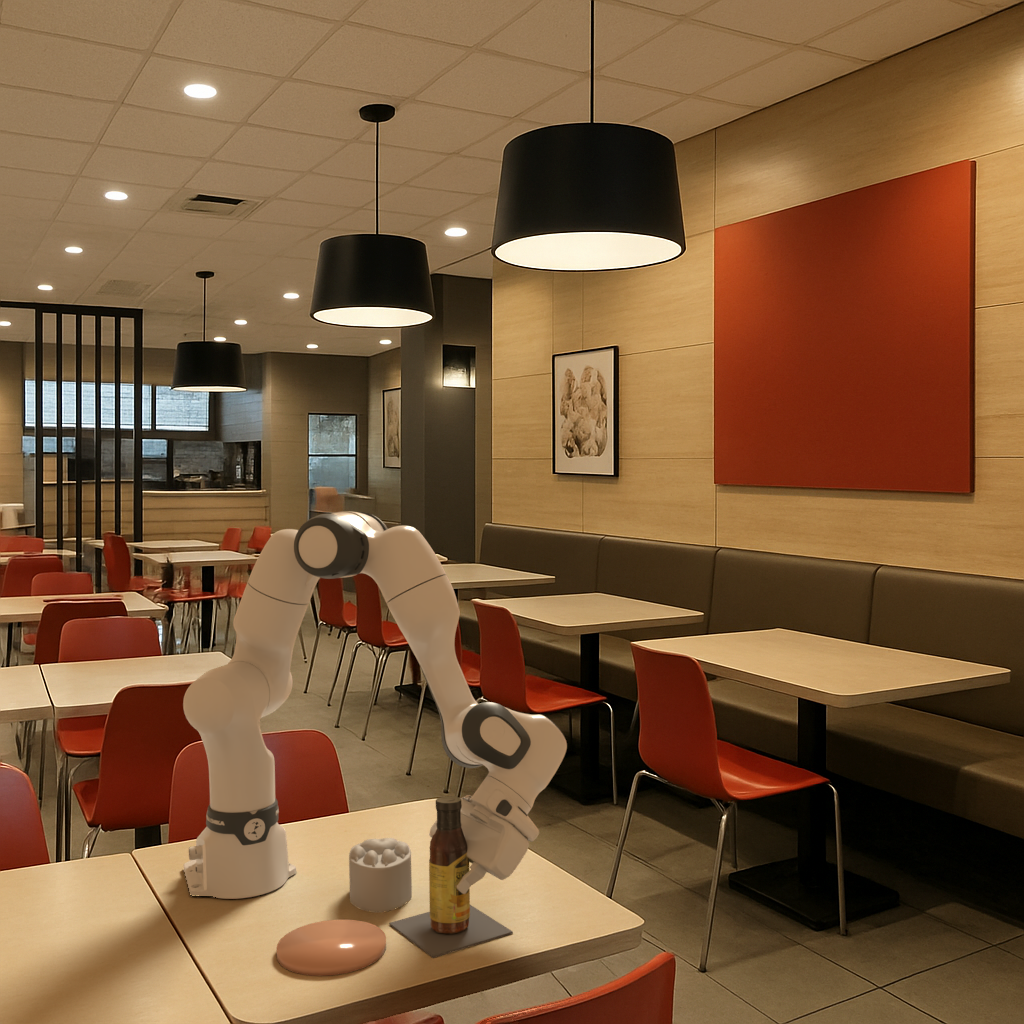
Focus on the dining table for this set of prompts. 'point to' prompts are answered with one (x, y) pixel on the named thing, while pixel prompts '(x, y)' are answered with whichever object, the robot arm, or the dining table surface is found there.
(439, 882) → the sauce bottle
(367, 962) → the terracotta plate
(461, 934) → the rubber mat
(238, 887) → the robot arm
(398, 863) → the lumpy-topped squat cylinder
